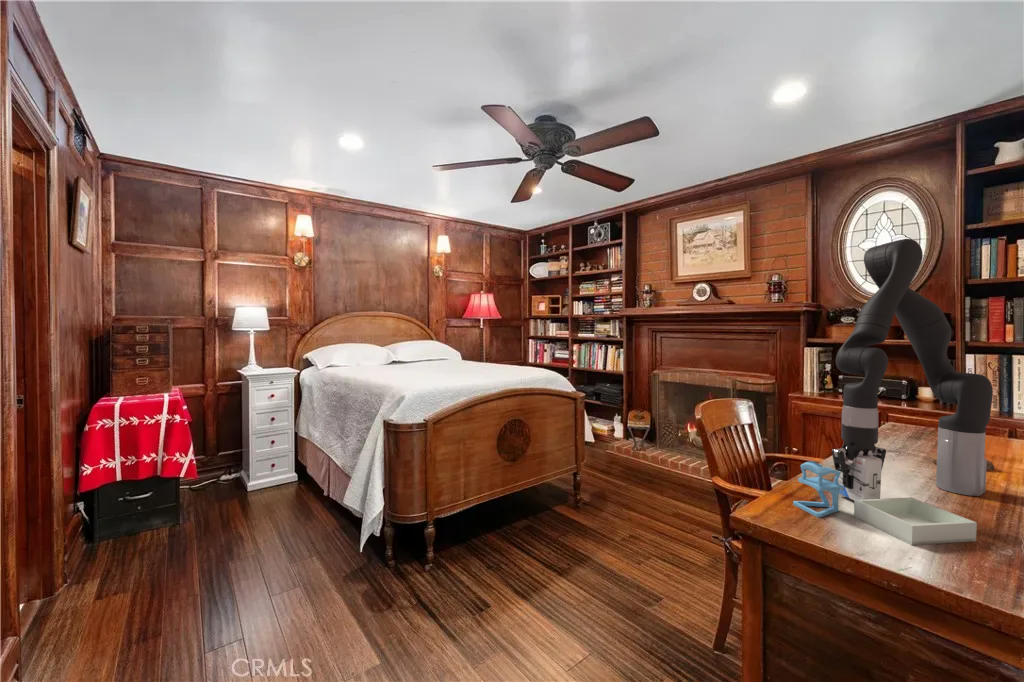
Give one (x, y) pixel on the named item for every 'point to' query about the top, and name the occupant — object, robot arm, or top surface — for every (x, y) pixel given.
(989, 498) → the top surface
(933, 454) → the ceramic shard
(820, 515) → the chair
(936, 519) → the celadon dish
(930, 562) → the top surface
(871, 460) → the ink box
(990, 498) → the top surface
